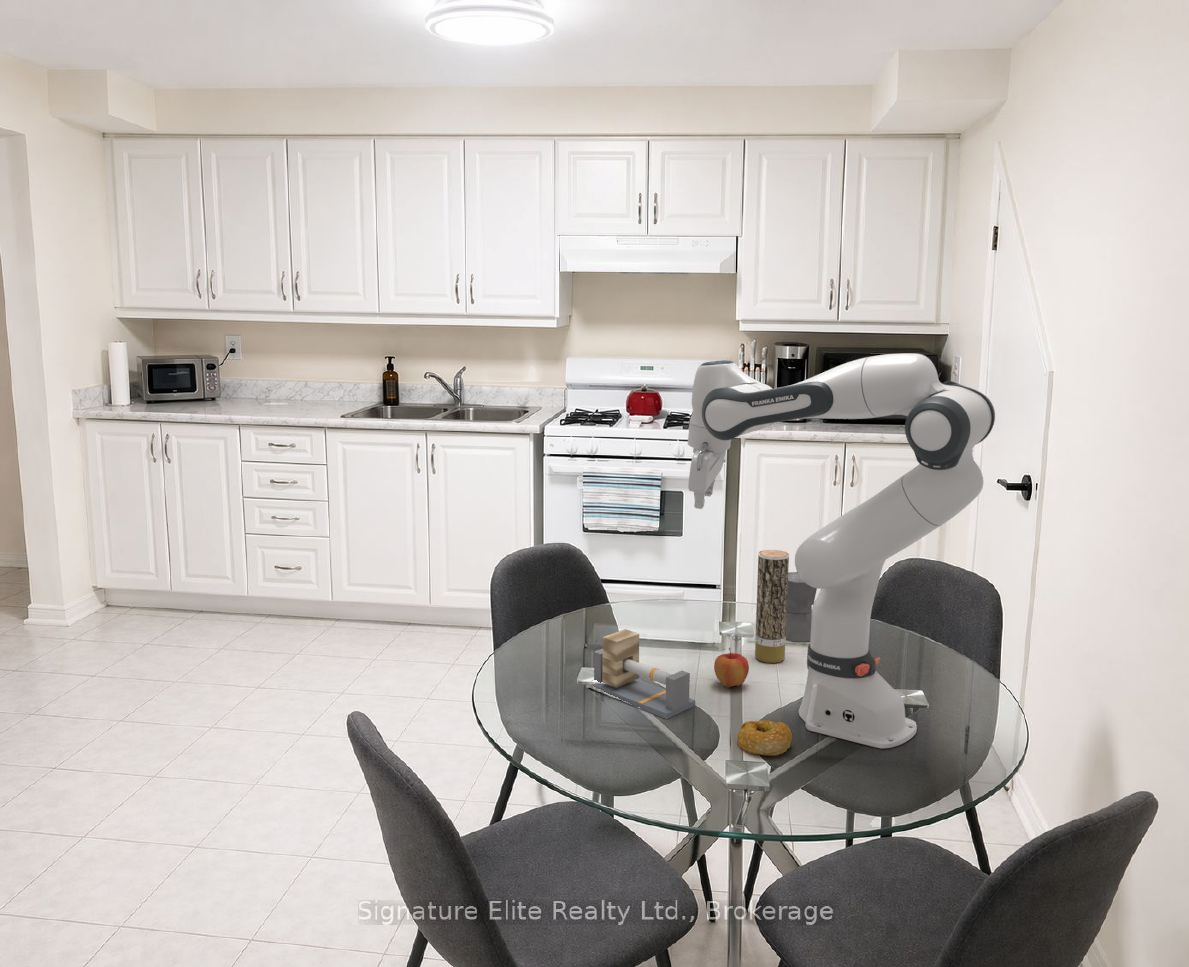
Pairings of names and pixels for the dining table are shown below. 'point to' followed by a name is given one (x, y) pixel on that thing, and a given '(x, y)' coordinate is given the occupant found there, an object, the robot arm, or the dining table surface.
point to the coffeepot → (799, 609)
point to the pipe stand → (649, 688)
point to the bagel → (764, 737)
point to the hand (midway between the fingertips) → (703, 501)
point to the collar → (619, 657)
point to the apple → (731, 669)
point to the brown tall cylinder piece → (771, 605)
